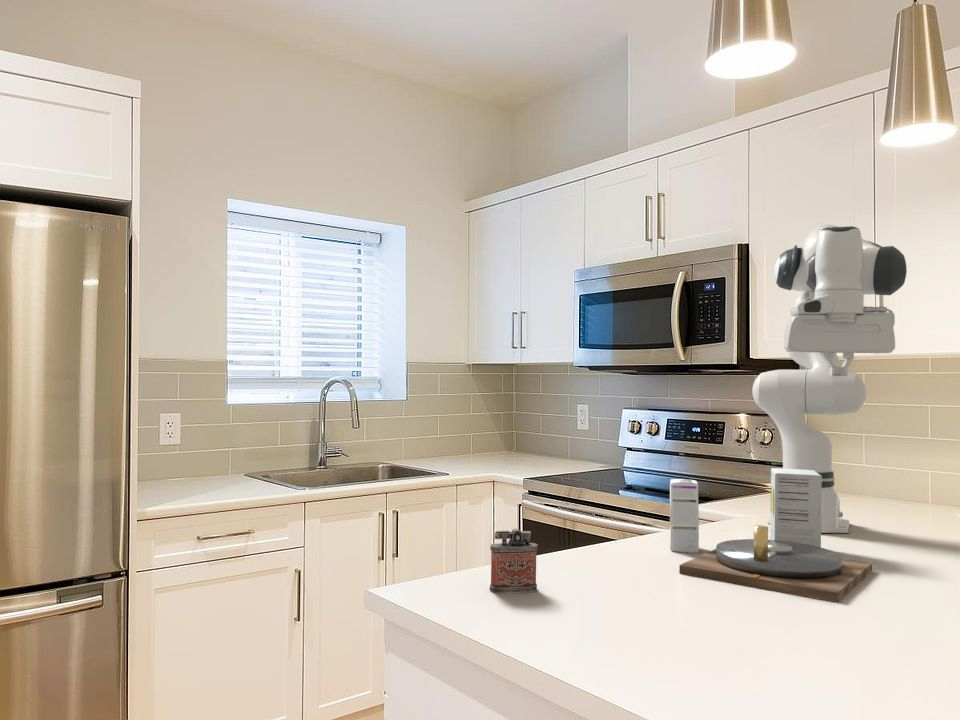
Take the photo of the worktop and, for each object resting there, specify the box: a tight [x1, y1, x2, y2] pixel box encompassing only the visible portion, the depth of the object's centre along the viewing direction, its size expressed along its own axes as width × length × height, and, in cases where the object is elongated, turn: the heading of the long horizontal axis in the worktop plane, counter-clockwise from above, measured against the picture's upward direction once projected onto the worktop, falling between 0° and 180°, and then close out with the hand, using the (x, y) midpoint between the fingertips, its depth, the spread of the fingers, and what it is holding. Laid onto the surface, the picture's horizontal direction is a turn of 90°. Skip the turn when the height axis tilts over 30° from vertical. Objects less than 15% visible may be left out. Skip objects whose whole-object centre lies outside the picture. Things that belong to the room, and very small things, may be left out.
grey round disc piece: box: [715, 524, 844, 578], centre depth 141 cm, size 22×22×8 cm
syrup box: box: [669, 478, 700, 554], centre depth 159 cm, size 6×6×14 cm
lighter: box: [489, 528, 539, 594], centre depth 126 cm, size 8×3×10 cm, turn 102°
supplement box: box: [769, 467, 822, 548], centre depth 160 cm, size 10×9×17 cm
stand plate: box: [678, 548, 873, 603], centre depth 141 cm, size 27×27×2 cm
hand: (838, 375), depth 149 cm, fingers closed
